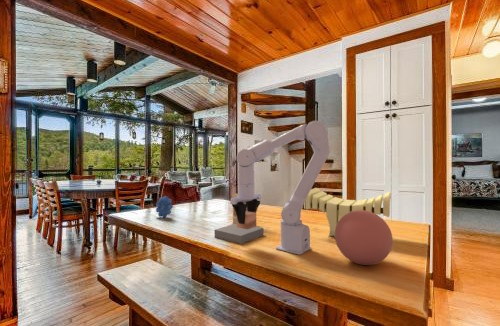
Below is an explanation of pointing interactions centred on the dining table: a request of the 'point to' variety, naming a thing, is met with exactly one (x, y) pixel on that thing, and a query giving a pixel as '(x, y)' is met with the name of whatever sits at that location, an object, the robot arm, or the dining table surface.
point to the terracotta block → (248, 220)
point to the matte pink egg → (363, 237)
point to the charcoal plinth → (238, 233)
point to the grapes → (164, 206)
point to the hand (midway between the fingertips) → (246, 221)
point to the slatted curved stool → (345, 206)
